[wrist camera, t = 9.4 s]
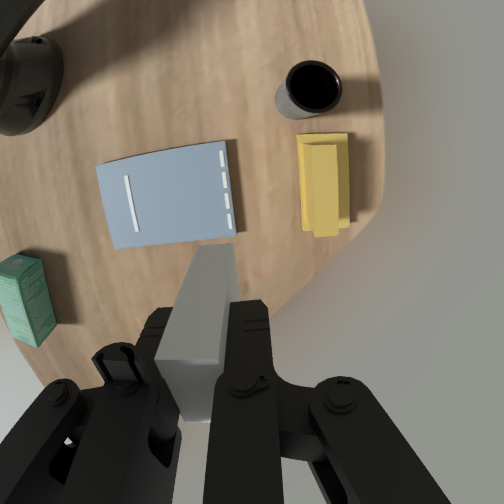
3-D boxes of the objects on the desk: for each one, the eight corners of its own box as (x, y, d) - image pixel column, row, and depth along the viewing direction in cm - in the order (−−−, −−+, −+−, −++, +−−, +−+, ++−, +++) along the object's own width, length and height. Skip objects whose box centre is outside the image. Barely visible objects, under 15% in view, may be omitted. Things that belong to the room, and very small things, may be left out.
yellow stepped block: (296, 134, 29) (306, 134, 24) (344, 133, 29) (363, 134, 24) (302, 227, 34) (311, 247, 28) (346, 224, 33) (363, 242, 28)
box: (42, 256, 36) (14, 278, 29) (59, 324, 41) (39, 350, 34) (15, 250, 35) (-12, 270, 28) (32, 315, 41) (11, 338, 34)
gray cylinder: (279, 122, 29) (292, 117, 20) (270, 85, 27) (279, 63, 18) (318, 116, 29) (348, 110, 19) (310, 79, 27) (335, 57, 17)
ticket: (100, 164, 30) (95, 166, 29) (225, 140, 30) (224, 141, 29) (118, 245, 35) (114, 249, 34) (236, 232, 34) (236, 236, 33)
